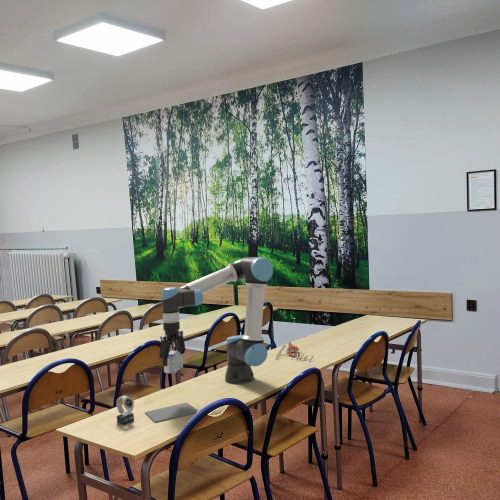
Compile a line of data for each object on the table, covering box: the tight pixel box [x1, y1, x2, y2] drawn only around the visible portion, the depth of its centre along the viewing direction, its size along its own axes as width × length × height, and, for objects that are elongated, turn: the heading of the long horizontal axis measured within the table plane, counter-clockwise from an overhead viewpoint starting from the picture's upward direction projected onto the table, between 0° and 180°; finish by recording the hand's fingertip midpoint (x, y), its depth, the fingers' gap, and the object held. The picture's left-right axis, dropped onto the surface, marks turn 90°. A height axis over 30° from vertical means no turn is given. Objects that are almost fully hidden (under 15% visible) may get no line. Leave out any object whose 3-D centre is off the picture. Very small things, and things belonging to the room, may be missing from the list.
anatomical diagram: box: [275, 341, 314, 361], centre depth 316 cm, size 21×9×25 cm
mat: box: [144, 402, 199, 423], centre depth 232 cm, size 20×14×1 cm
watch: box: [116, 395, 135, 426], centre depth 224 cm, size 6×8×11 cm
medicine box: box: [168, 350, 181, 374], centre depth 243 cm, size 8×4×9 cm, turn 171°
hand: (173, 370), depth 243 cm, fingers closed on medicine box, 9 cm apart
